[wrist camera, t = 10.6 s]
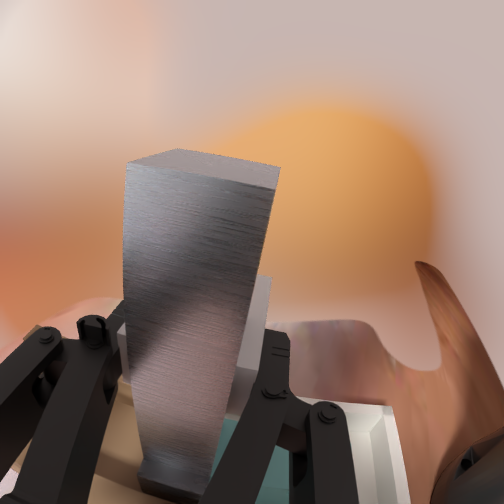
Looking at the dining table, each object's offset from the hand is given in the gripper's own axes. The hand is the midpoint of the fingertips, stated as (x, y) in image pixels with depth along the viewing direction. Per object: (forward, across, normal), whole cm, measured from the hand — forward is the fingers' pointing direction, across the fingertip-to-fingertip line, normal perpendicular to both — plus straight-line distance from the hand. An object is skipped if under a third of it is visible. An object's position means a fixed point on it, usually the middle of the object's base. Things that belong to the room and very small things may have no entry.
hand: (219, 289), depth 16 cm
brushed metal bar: (-5, 0, -10) cm, 11 cm away
